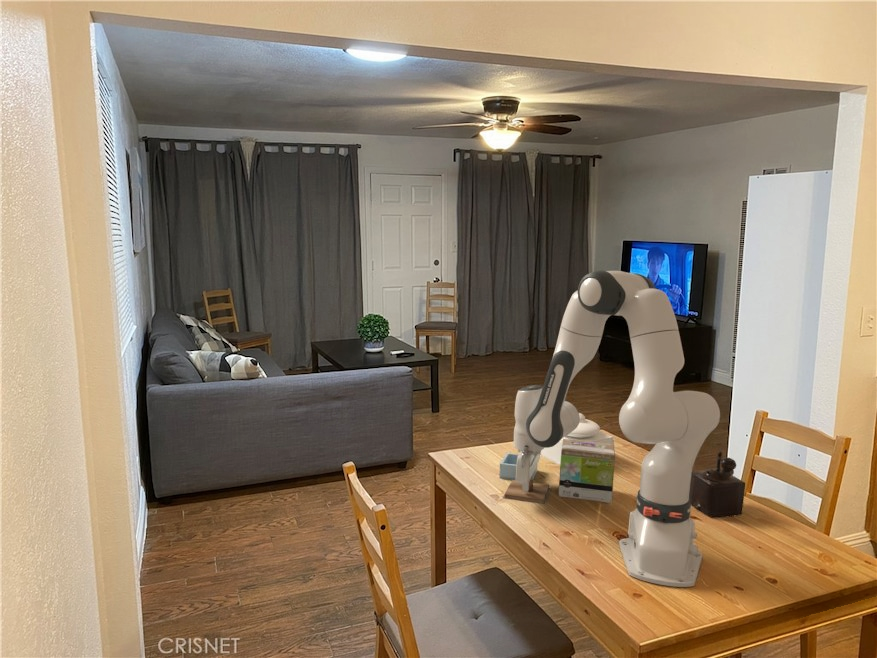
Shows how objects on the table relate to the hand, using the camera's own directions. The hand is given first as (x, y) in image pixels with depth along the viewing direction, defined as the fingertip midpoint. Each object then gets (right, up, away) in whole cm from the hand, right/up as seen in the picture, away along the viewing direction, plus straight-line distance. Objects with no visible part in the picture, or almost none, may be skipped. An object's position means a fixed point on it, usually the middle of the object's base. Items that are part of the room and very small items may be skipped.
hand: (527, 486), depth 182 cm
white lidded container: (+20, +2, +30) cm, 36 cm away
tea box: (+17, -3, +1) cm, 17 cm away
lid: (0, -2, 0) cm, 2 cm away
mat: (0, -2, 0) cm, 2 cm away
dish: (-1, 0, +14) cm, 14 cm away
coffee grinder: (+51, -5, -10) cm, 52 cm away
